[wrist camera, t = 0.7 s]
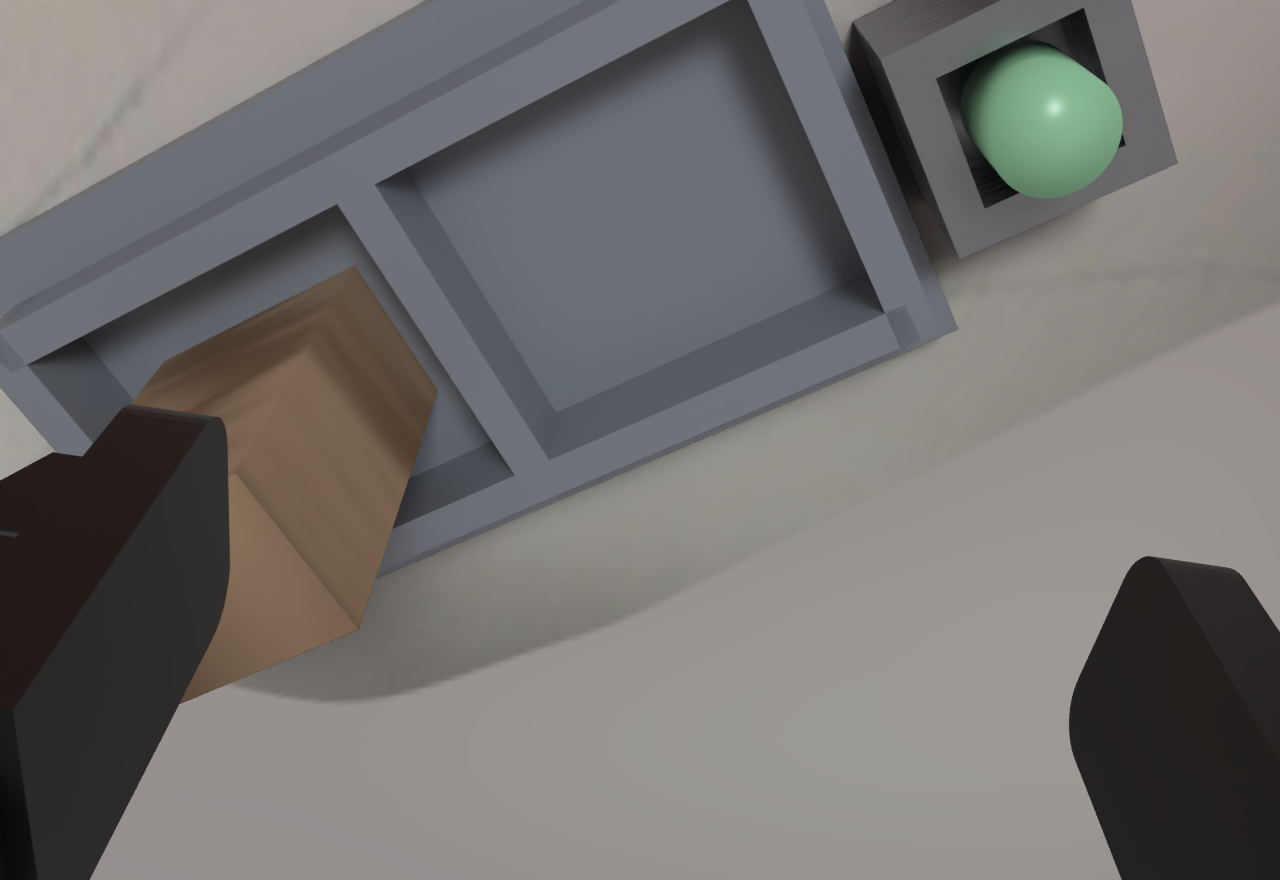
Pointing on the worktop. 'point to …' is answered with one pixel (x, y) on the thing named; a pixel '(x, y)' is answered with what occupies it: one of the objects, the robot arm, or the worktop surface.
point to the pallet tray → (508, 239)
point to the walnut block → (302, 464)
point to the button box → (937, 73)
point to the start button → (1041, 119)
